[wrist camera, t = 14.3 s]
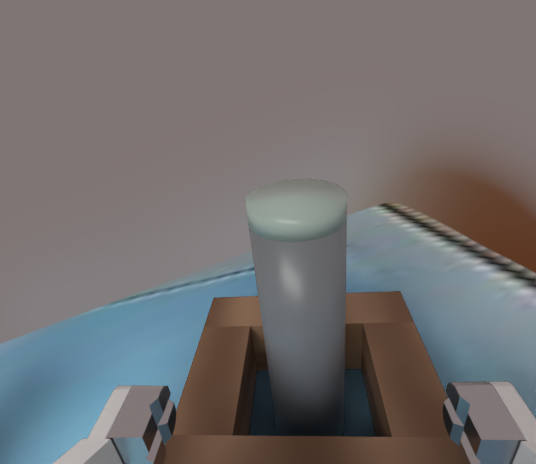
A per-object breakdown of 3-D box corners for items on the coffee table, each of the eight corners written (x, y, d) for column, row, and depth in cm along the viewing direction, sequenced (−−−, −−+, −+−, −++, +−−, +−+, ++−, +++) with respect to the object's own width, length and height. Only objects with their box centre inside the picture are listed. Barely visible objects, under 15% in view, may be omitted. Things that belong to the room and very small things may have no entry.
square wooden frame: (166, 559, 15) (142, 512, 13) (222, 338, 26) (213, 297, 24) (482, 574, 13) (504, 524, 12) (395, 335, 25) (399, 291, 23)
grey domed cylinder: (273, 453, 18) (238, 219, 12) (277, 389, 22) (251, 182, 16) (349, 454, 18) (354, 213, 12) (340, 388, 21) (340, 175, 15)
